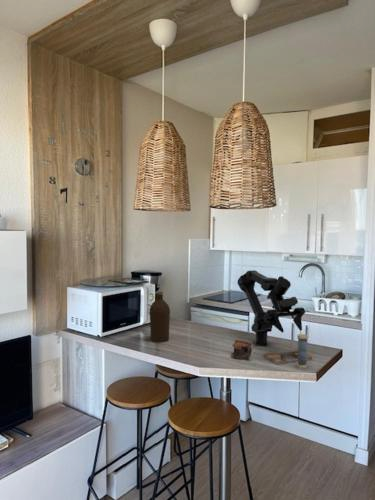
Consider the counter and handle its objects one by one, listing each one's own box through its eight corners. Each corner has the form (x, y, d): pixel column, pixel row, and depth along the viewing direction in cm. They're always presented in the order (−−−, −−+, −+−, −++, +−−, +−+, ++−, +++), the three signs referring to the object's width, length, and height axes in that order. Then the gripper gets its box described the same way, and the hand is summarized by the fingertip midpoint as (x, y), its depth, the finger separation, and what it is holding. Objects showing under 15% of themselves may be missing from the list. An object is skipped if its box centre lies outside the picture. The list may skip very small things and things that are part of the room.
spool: (295, 365, 153) (295, 334, 152) (301, 363, 155) (301, 333, 155) (302, 368, 150) (303, 337, 149) (309, 366, 152) (309, 335, 151)
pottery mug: (225, 357, 166) (229, 339, 169) (241, 363, 169) (245, 345, 173) (242, 357, 156) (246, 338, 159) (258, 364, 159) (262, 345, 163)
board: (264, 357, 164) (264, 347, 164) (298, 352, 170) (298, 343, 169) (276, 364, 154) (276, 354, 154) (312, 359, 160) (312, 349, 160)
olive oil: (157, 344, 184) (156, 294, 183) (145, 339, 192) (145, 291, 191) (174, 340, 190) (174, 292, 189) (162, 335, 199) (162, 289, 197)
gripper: (266, 291, 160) (281, 322, 150) (303, 289, 166) (319, 319, 156) (257, 306, 168) (270, 336, 158) (292, 303, 174) (307, 332, 164)
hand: (292, 331), depth 159 cm, fingers open, 9 cm apart
